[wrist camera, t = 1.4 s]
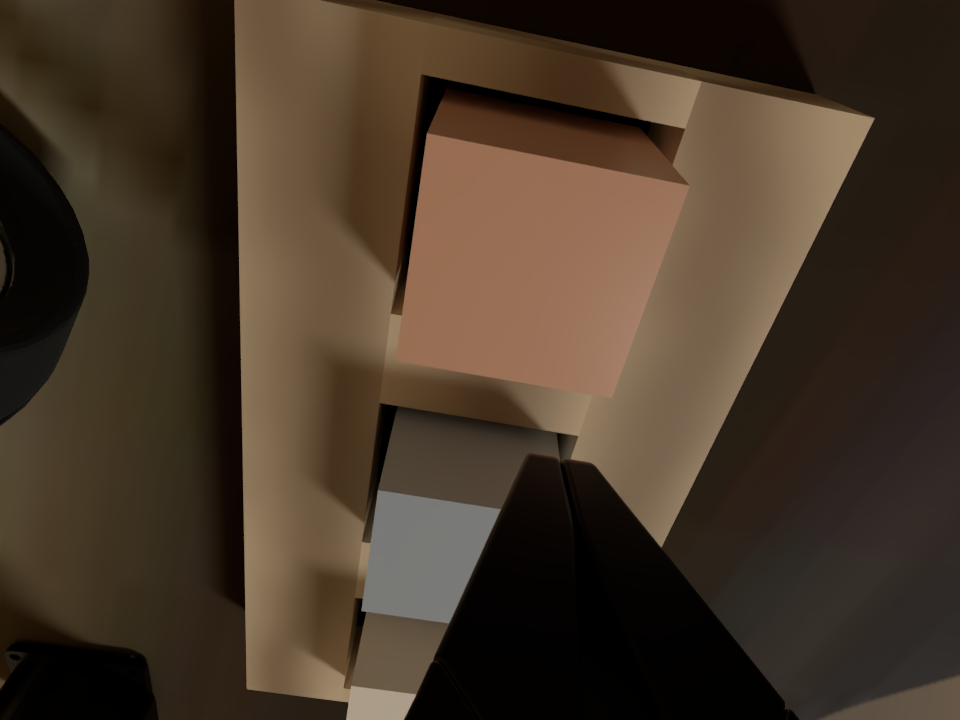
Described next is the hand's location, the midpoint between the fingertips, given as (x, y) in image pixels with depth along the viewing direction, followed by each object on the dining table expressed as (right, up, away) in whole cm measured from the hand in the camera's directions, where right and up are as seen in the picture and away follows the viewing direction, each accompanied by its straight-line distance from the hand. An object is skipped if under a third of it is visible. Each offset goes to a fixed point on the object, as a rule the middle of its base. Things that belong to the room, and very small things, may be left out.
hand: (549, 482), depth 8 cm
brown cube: (0, +6, +10) cm, 12 cm away
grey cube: (-1, -2, +14) cm, 14 cm away
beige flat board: (-1, -1, +15) cm, 15 cm away
